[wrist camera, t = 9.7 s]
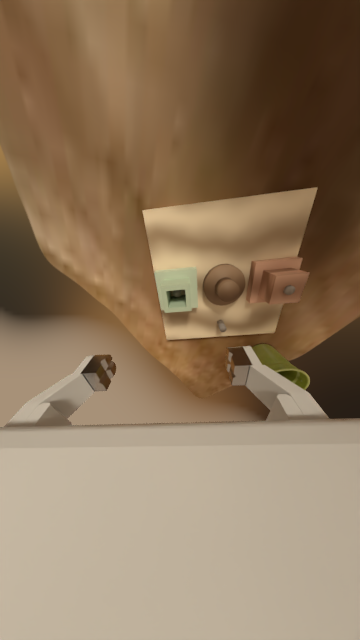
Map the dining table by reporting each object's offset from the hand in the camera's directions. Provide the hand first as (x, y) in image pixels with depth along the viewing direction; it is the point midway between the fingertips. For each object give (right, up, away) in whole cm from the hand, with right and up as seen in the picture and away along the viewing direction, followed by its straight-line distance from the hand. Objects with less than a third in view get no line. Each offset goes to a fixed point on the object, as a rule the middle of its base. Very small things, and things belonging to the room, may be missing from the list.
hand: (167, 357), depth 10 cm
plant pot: (+20, -5, +23) cm, 31 cm away
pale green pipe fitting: (0, +8, +14) cm, 16 cm away
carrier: (+8, +9, +15) cm, 19 cm away
